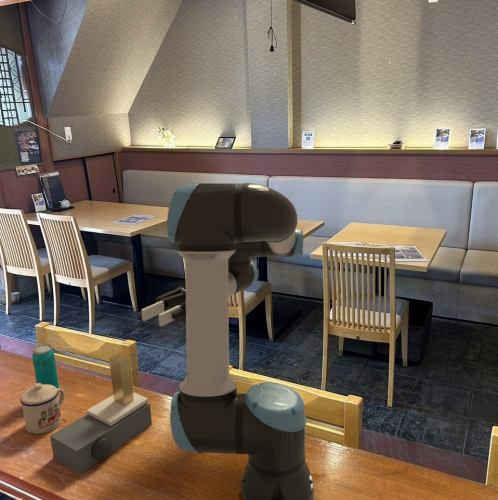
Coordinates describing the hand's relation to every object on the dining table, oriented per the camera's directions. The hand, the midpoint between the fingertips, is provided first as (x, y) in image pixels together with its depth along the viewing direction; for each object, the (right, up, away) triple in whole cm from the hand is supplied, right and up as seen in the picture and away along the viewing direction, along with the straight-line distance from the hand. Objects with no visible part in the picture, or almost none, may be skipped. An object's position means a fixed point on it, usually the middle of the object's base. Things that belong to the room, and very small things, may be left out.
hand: (151, 317), depth 116 cm
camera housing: (-13, -31, +8) cm, 35 cm away
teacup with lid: (-30, -30, +17) cm, 46 cm away
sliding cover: (-10, -24, +11) cm, 28 cm away
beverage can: (-35, -27, +29) cm, 52 cm away
